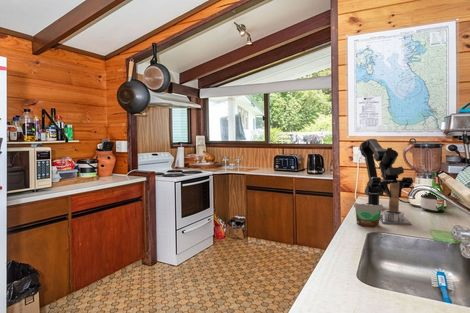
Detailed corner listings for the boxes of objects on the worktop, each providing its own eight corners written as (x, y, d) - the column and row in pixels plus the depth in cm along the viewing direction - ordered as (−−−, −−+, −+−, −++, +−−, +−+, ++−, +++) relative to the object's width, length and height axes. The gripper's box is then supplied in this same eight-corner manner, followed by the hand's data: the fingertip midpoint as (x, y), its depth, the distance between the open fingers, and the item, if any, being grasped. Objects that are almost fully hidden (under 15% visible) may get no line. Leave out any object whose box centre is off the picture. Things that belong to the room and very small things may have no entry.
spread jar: (426, 212, 158) (427, 190, 157) (413, 207, 170) (414, 186, 169) (449, 212, 159) (450, 190, 158) (434, 206, 170) (435, 186, 169)
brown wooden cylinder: (389, 208, 149) (390, 182, 147) (398, 209, 146) (399, 183, 145) (388, 210, 145) (389, 183, 144) (397, 211, 143) (398, 184, 142)
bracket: (377, 216, 153) (377, 208, 153) (403, 217, 150) (404, 209, 150) (382, 223, 142) (382, 215, 142) (411, 225, 139) (411, 216, 138)
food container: (353, 226, 138) (354, 204, 137) (353, 222, 144) (353, 201, 143) (383, 229, 134) (384, 206, 133) (382, 225, 140) (382, 203, 139)
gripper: (371, 160, 149) (379, 187, 139) (412, 160, 146) (422, 188, 137) (366, 174, 157) (372, 200, 147) (404, 174, 155) (414, 201, 145)
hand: (395, 197), depth 144 cm, fingers closed on brown wooden cylinder, 4 cm apart
